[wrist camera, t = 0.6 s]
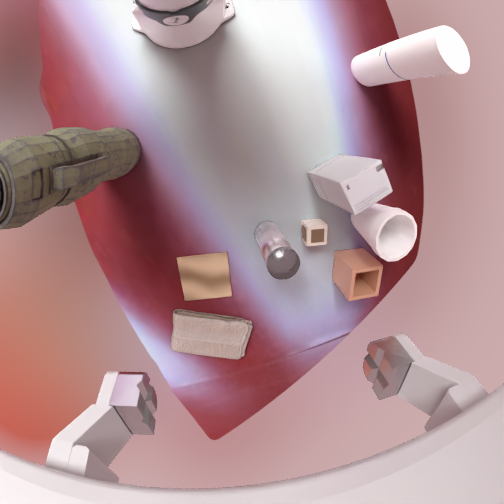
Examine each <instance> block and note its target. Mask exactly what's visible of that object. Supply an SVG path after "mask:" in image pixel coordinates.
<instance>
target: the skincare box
mask: <svg viewBox="0 0 504 504" xmlns="http://www.w3.org/2000/svg"><path fill="white" fill-rule="evenodd" d="M307 173H308V175H309V177H310V179H311V181H312V183H313V185H314V187H315V189H316V191H317V193H318V195H319V197H320V198H322V199H324V200H326V201H328V202H330V203H332V204H334V205H336V206H338V207H340V208H342V209H344V210H346V211H348V212H350V213H352V214H354V215H357V214H358V213H360V212H362V211H363V210H365V209H366V208H368V207H370V206H371V205H373V204H374V203H376V202H377V201H379V200H381V199H382V198H384V197H385V196H387V195H388V194H390V193H391V192H393V191H392V188H391V185H390V182H389V180H388V177H387V174H386V172H385V169H384V167H383V164H382V161H381V160H378V159H371V158H365V157H358V156H350V155H342V154H339V155H337V156H335V157H333V158H331V159H330V160H328V161H326V162H324V163H322V164H320V165H319V166H317V167H316V168H314V169H312V170H310V171H308V172H307Z"/></svg>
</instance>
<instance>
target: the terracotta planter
mask: <svg viewBox="0 0 504 504" xmlns="http://www.w3.org/2000/svg"><path fill="white" fill-rule="evenodd" d="M382 270H383V265H382V264H381V263H380V262H379V261H378V260H376V259H375V258H374V257H373V256H372V255H371V254H369V253H368V252H367V251H366V250H365V249H364V248H357V249H348V250H340V251H334V266H333V278H332V280H333V281H334V283H335V284H336V285H337V286H338V288H339V289H340V290H341V292H342V293H343V294H344V296H345V297H346V298H347V300H348V301H353V300H358V299H363V298H368V297H373V296H378V293H379V287H380V282H381V276H382Z"/></svg>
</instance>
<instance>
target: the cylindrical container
mask: <svg viewBox="0 0 504 504" xmlns="http://www.w3.org/2000/svg"><path fill="white" fill-rule="evenodd" d="M469 66H470V57H469V53H468V49H467V47H466V45H465V43H464V41H463V40H462V38H461V37H460V35H459V34H458V33H457V32H456V31H455V30H453V29H452V28H450V27H448V26H440V27H436V28H432V29H429V30H425V31H422V32H419V33H416V34H413V35H410V36H407V37H404V38H401V39H398V40H395V41H393V42H390V43H387V44H385V45H382V46H380V47H377V48H375V49H372V50H370V51H367V52H365V53H362V54H360V55H358V56H356V57H355V58H354V59H353V60H352V63H351V71H352V74H353V76H354V77H355V79H356V80H357V81H358V82H359V83H361V84H362V85H365V86H369V87H370V86H376V85H381V84H387V83H392V82H398V81H404V80H410V79H417V78H424V77H433V76H442V75H452V74H453V75H454V74H463V73H466V72H467V71H468V69H469Z"/></svg>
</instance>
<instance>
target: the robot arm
mask: <svg viewBox="0 0 504 504" xmlns="http://www.w3.org/2000/svg"><path fill="white" fill-rule="evenodd" d="M133 3H134V4H135V6H134V8H133V9H132V12H133V14H134V16H133V20H132V24H131V25H132V28H133V29H134V30H136V31H139V32H142V33H144V34H146V35H147V36H148V37H149V38H150V39H151V40H152V41H153V42H154V43H156V44H158V45H160V46H163V47H167V48H185V47H190V46H193V45H196V44H198V43H200V42H202V41H204V40H206V39H207V38H209V37H210V36H211V35H212V34H213V33H214V32H215V31H216V30H217V28H218V27H219V26H220V24H221V23H222V22H224V21H226V20H228V19H230V18H231V17H232V16H233V15H234V13H235V12H234V7H233V4H232V1H231V0H133ZM225 6H227V7H229V8H225ZM367 351H368V352H369V354H368V355H367V356H366V357H365V358H364V362H363V369H364V374H365V376H366V378H367V380H368V381H370V382H372V383H373V387H372V388H373V390H374V392H375V393H376V395H377V397H378V399H379V400H381V399H385V398H388V397H391V396H394V395H397V394H398V396H400V397H401V398H403V399H404V400H406V401H407V402H409V403H410V404H412V405H414V406H415V407H417V408H418V409H420V410H422V411H423V412H425V413H427V414H428V415H430V416H431V417H430V419H429V420H428V422H427V423H426V425H425V429H426V431H427V432H426V433H424V434H422V435H420V436H418V437H416V438H414V439H411V440H409V441H407V442H405V443H403V444H400V445H398V446H396V447H393V448H391V449H389V450H386V451H384V452H381V453H379V454H376V455H373V456H371V457H368V458H365V459H362V460H359V461H356V462H353V463H350V464H347V465H344V466H340V467H337V468H334V469H330V470H327V471H323V472H319V473H315V474H311V475H306V476H302V477H297V478H292V479H287V480H282V481H276V482H270V483H262V484H255V485H247V486H236V487H223V488H198V489H180V488H158V487H145V486H135V485H126V484H119V483H118V482H119V478H118V476H117V475H116V474H115V473H114V472H112V471H111V470H110V469H109V468H108V466H109V464H111V462H112V461H113V460H114V458H115V457H116V456H117V455H118V453H119V452H120V451H121V450H122V448H123V447H124V446H125V444H126V443H127V442H128V441H129V439H130V438H131V437H132V434H145V435H146V434H147V435H148V434H149V435H153V434H154V428H155V419H154V417H153V414H154V413H155V411H156V409H157V397H156V393H155V390H154V388H153V387H152V386H151V385H150V384H149V381H150V378H149V376H148V374H147V373H145V372H111V371H108V372H107V373H106V374H105V376H104V380H103V383H102V386H101V389H100V392H99V395H98V399H97V402H96V405H94V404H92V405H91V406H90V407H89V408H88V409H86V410H85V411H84V412H83V413H82V414H81V415H80V416H78V417H77V418H76V419H75V420H74V421H73V422H71V423H70V425H68V426H67V427H66V428H65V429H64V430H62V431H61V432H60V433H59V434H58V435H56V436H55V437H54V438H53V440H52V443H51V446H50V450H49V453H48V457H47V460H46V464H45V466H42V465H39V464H36V463H33V462H31V461H28V460H25V459H22V458H20V457H17V456H15V455H12V454H10V453H8V452H5V451H3V450H1V449H0V504H504V383H503V384H502V385H501V386H500V387H498V388H497V389H496V390H494V391H493V392H491V393H490V394H488V393H487V392H486V390H485V389H484V388H483V387H482V386H481V384H480V383H479V382H478V381H477V380H476V378H475V377H474V376H473V375H472V374H469V373H467V372H464V371H462V370H459V369H457V368H454V367H451V366H449V365H447V364H444V363H442V362H439V361H437V360H434V359H432V358H430V357H424V356H423V355H422V353H421V352H420V351H419V350H418V348H417V347H416V346H415V345H414V344H413V343H412V341H411V340H410V339H409V338H408V337H407V335H406V334H404V333H400V334H397V335H394V336H390V337H387V338H384V339H379V340H376V341H373V342H370V343H369V344H368V347H367Z"/></svg>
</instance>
